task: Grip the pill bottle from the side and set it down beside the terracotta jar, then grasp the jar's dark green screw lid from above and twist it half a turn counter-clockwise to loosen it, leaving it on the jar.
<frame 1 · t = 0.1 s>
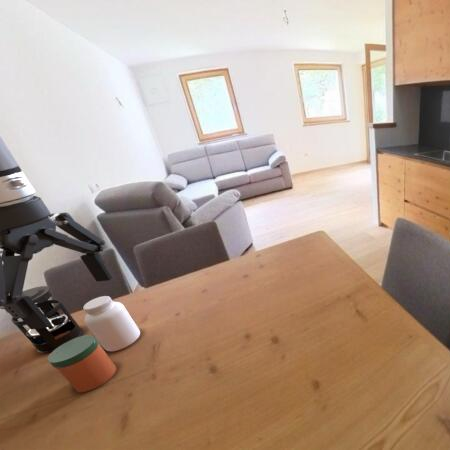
hand: (76, 300, 55), 28 cm above the table, tool pointing down, fingers open, 13 cm apart
jar: (96, 377, 71), on the table
pill bottle: (124, 341, 82), on the table
french press: (62, 339, 83), on the table
jar lid: (73, 349, 66), point 11 cm above the table, screwed on, not yet turned
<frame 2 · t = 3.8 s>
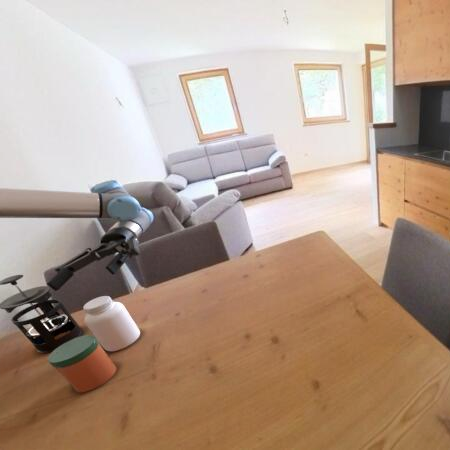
hand: (81, 278, 75), 21 cm above the table, tool horizontal, fingers open, 13 cm apart
nothing on the table moved.
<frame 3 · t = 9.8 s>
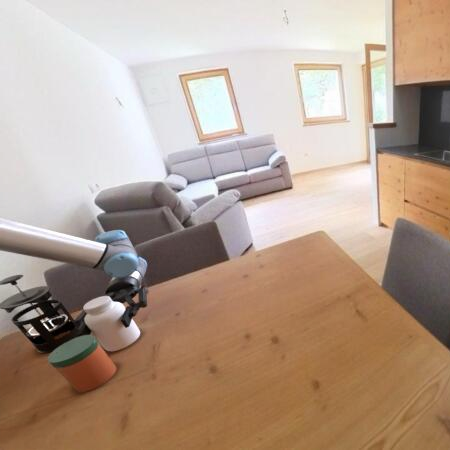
hand: (104, 330, 74), 8 cm above the table, tool horizontal, fingers closed on pill bottle, 8 cm apart
pill bottle: (124, 341, 82), on the table, touching gripper
everything else where it was.
when the fingers open (8 cm above the table, at t = 17.9 s): pill bottle stays where it is, on the table.
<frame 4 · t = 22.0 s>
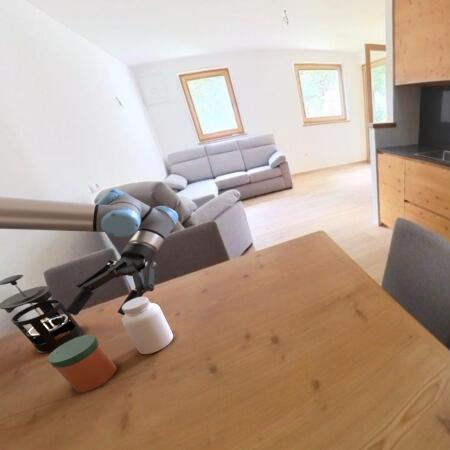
hand: (96, 313, 75), 12 cm above the table, tool tilted 65°, fingers open, 13 cm apart
pill bottle: (157, 344, 80), on the table
everything else where it was.
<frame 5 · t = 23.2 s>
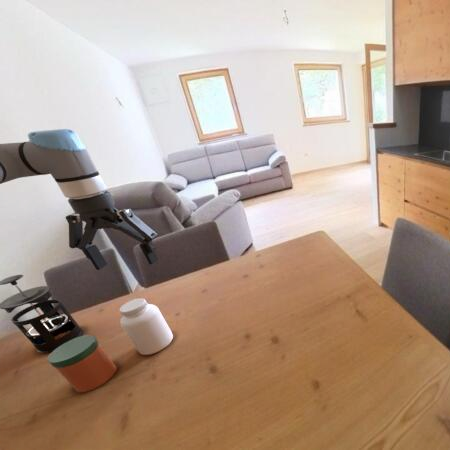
hand: (128, 264, 79), 21 cm above the table, tool pointing down, fingers open, 13 cm apart
nothing on the table moved.
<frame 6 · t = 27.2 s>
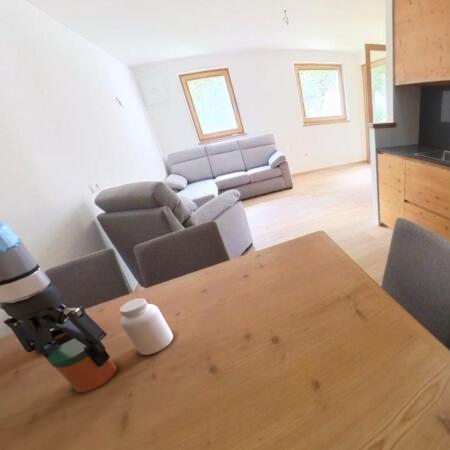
hand: (85, 364, 69), 5 cm above the table, tool pointing down, fingers closed on jar lid, 8 cm apart
jar lid: (73, 349, 66), point 11 cm above the table, screwed on, not yet turned, touching gripper
everything else where it was.
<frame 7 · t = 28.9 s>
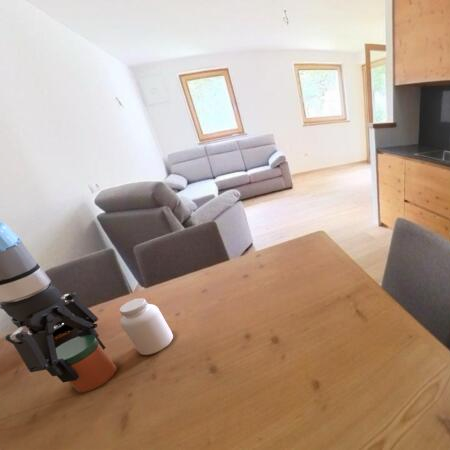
hand: (85, 363, 69), 5 cm above the table, tool pointing down, fingers closed on jar lid, 8 cm apart
jar lid: (72, 348, 66), point 11 cm above the table, turned 94° so far, risen 0.1 cm, still on its thread, touching gripper
everything else where it was.
when the fingers open (5 cm above the table, at t = 30.4 s): jar lid stays where it is, point 11 cm above the table.
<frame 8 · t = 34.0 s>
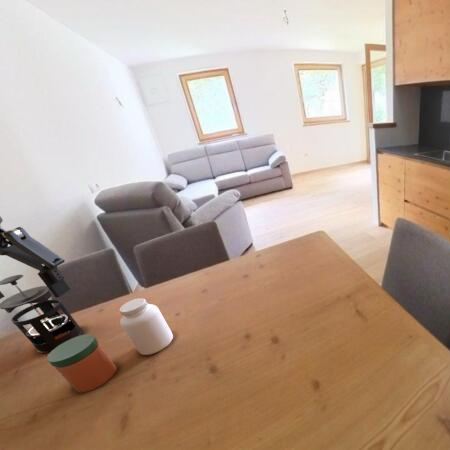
hand: (30, 297, 62), 25 cm above the table, tool pointing down, fingers open, 13 cm apart
jar lid: (72, 348, 66), point 11 cm above the table, turned 179° so far, risen 0.2 cm, still on its thread
everything else where it was.
at the end: pill bottle inside the target area (0.0 cm from its centre), on the table; jar lid turned 0.50 turns (still on its thread); jar lid is still on its thread (0.50 turns) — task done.
